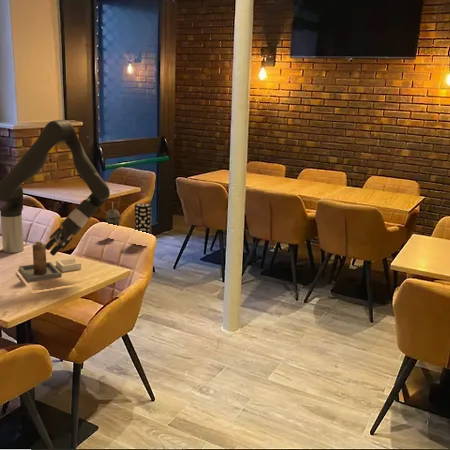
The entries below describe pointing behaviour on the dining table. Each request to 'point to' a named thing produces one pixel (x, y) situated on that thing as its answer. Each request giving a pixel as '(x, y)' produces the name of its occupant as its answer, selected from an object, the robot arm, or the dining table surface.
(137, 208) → the spotted tube
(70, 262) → the caddy slot
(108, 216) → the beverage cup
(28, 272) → the serving tray
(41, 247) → the pepper mill
